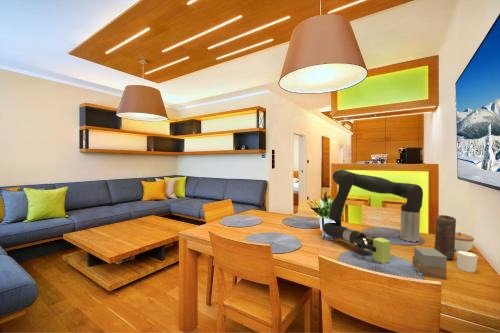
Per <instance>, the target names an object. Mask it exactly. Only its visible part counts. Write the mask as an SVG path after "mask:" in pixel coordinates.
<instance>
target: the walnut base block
mask: <svg viewBox="0 0 500 333" xmlns="http://www.w3.org/2000/svg"><path fill="white" fill-rule="evenodd" d="M411 262H412V264H413V265H414V267H415V268H416V269H417V271H418V272H419V273H422V274H423V275H424V277H429V278H434V279H441V280H447V267H446V268H440V267H430V266H423V265H422V264H421V263H420V262H419V261H417V260H416V259H415V258H414V255H412V261H411ZM412 264H411V265H412ZM414 267H413V268H414Z"/></svg>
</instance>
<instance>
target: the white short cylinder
mask: <svg viewBox="0 0 500 333" xmlns="http://www.w3.org/2000/svg"><path fill="white" fill-rule="evenodd" d="M455 254H456V255H455V256H456V265H457V266H456V267H457V269H458V270H460V271H463V272H467V273H472V272H473V273H476V270H477V269H476V268H477V264H478V258H479V255H478V254H476V253H474V252H471V251H455Z"/></svg>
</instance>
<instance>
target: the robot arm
mask: <svg viewBox="0 0 500 333" xmlns="http://www.w3.org/2000/svg"><path fill="white" fill-rule="evenodd" d="M332 180H333V182H334V183H335V184H336V185H338V187H337V188H338V189H337V193H336V196H335V197H334V199H333V200H332V202H331V205H330V208H329V212H328V218H329V220H331V221H333V220H334V221H335V222H336V223H331V222H325V223H324V224H323V226H322V230H323V232H324V234H326V235H328V236H329V237H330V236H331V237H333V238H338V239H341V240H343V241H346V242H347V243H349V244H351V245H353V246H354V247H357V248H358V249H360V250H366V251H368V250H369V251H371V252H372V253H373V252H376V247H374V246H373V239H375V238H376V237H374V236H371V238H370V237H367V236H366V234H365V233H364V232H361V231H359V230H356V229H352V228H348V227H346V226H342V216H343V211H344V207H345V204H346V201H347V199H348V196H349V194H350V192H351V189H352V188H353V186H354V187H357V188H359V189H363V190H364V191H368V192H371V193H375V194H387V195H388V194H389V195H393V196H398V197H399V198H403V199H405V200H406V203H404V204H401V206H400V228H399V230H400V234H399V235H400V239H401V240H402V239H403V240H402V241H405V240H406V241H405V242H409V241H412V242H411V243H417V242H416V241H419V242H420V233H421V232H420V229H421V228H420V226H421V225H420V224H421V222H420V221H421V209H422V207H423V198H424V191H423V187H422V186H420V185H419V184H414V183H407V182H396V181H391V180H389V179H386V178H382V177H379V176H373V175H367V174H361V173H360V174H359V173H355V172H351V171H348V170H346V169H337V170H335V171H334V172H333V173H332Z"/></svg>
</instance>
